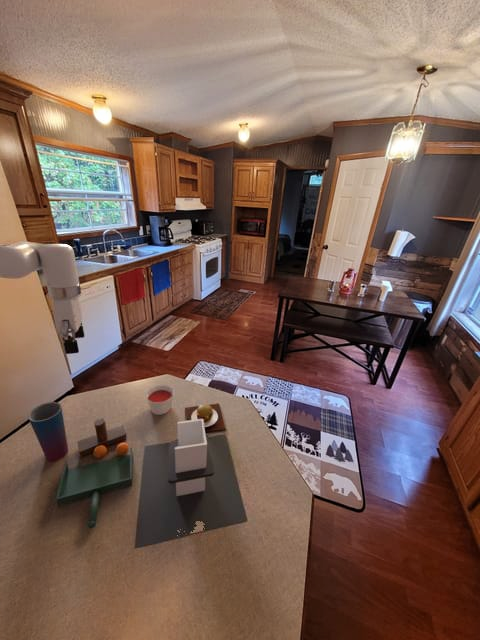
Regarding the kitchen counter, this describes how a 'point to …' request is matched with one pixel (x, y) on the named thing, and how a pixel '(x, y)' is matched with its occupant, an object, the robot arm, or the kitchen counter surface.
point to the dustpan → (94, 482)
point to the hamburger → (207, 416)
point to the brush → (101, 438)
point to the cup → (50, 430)
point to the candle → (160, 399)
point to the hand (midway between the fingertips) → (75, 344)
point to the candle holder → (187, 486)
